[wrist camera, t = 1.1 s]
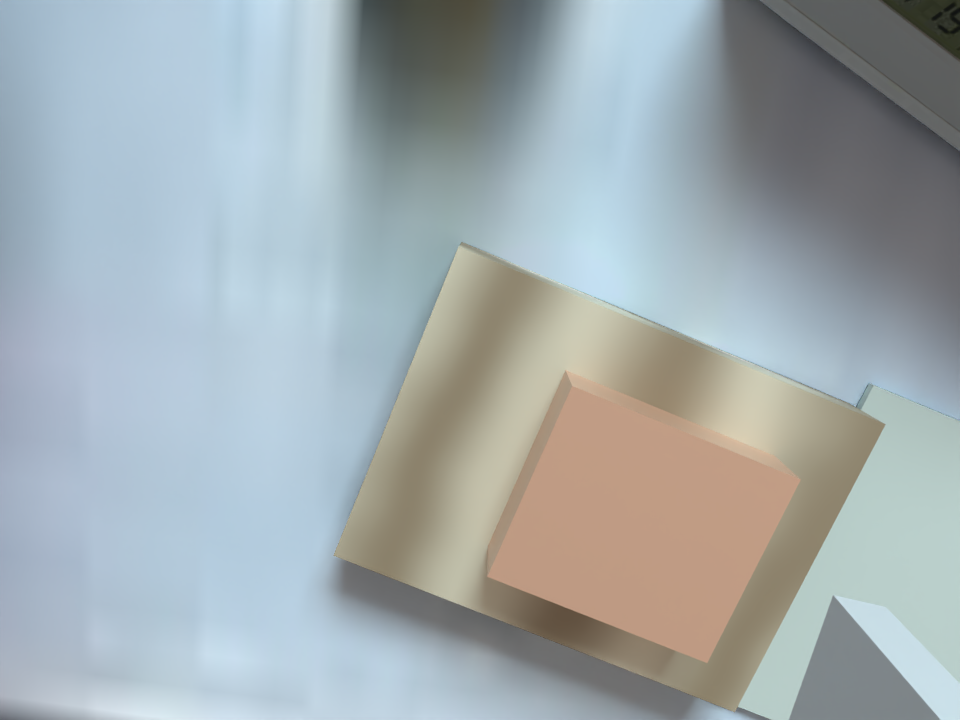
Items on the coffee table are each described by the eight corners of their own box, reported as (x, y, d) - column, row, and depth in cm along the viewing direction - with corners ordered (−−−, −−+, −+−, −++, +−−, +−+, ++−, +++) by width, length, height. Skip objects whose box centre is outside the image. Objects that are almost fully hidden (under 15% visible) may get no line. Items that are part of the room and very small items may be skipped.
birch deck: (347, 524, 33) (333, 555, 30) (461, 242, 31) (458, 246, 28) (714, 668, 34) (734, 712, 31) (849, 403, 32) (885, 424, 29)
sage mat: (710, 691, 35) (712, 696, 34) (868, 382, 32) (873, 385, 32) (949, 784, 35) (954, 791, 35) (1123, 489, 33) (1131, 493, 32)
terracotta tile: (487, 546, 30) (486, 577, 28) (565, 370, 29) (572, 385, 27) (690, 626, 31) (707, 663, 28) (775, 456, 30) (800, 479, 27)
